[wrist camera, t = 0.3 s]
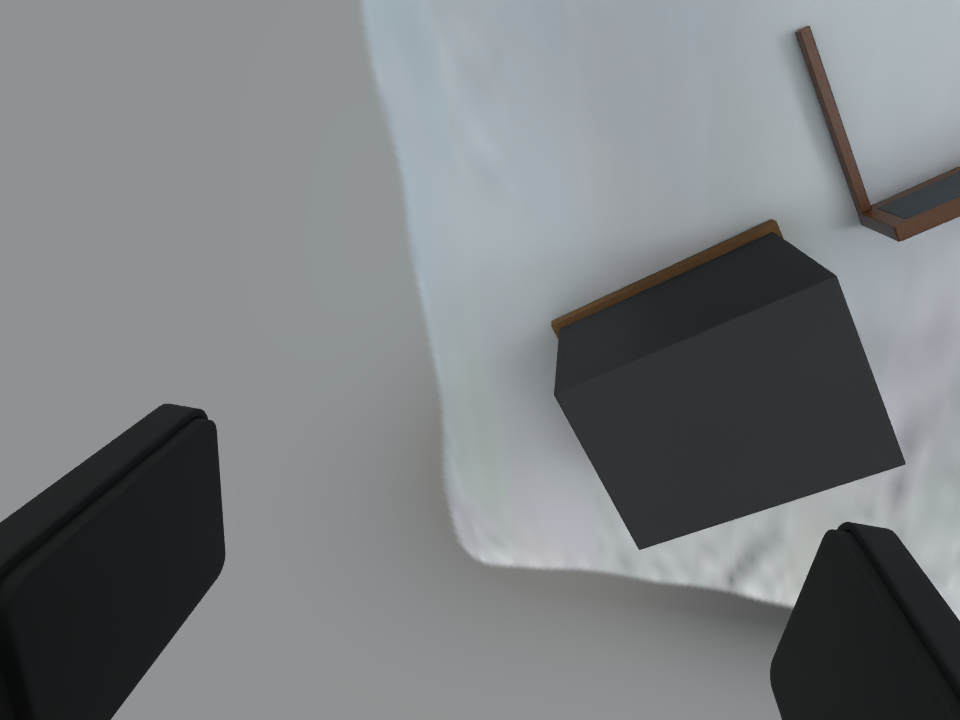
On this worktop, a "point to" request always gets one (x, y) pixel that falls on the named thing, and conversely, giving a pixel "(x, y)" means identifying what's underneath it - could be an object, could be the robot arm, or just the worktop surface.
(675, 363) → the wood-trimmed dark box
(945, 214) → the brown angular bar frame
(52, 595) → the robot arm
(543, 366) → the worktop surface
